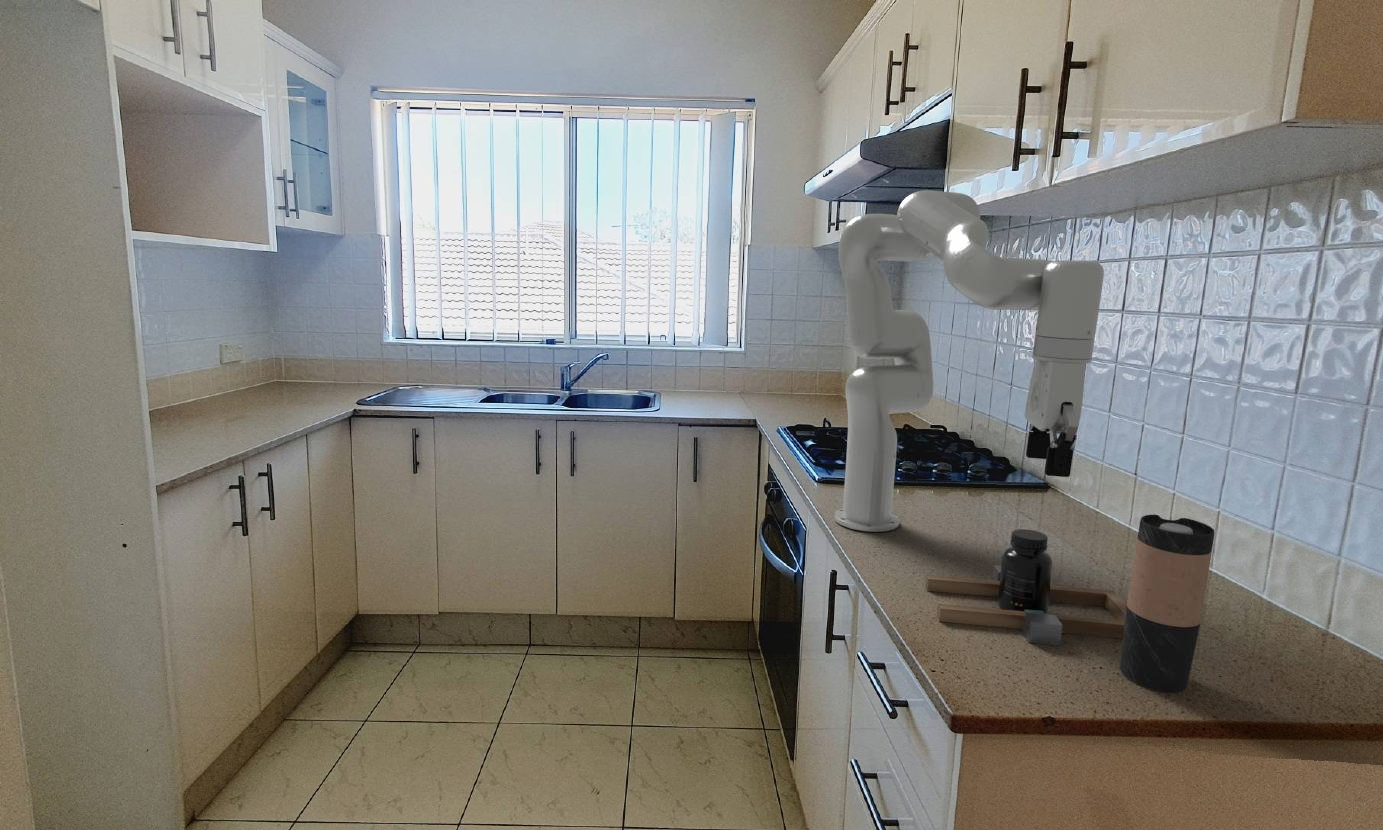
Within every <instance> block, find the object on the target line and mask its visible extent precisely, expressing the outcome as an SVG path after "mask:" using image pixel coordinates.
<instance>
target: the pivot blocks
mask: <svg viewBox="0 0 1383 830" xmlns="http://www.w3.org/2000/svg"><path fill="white" fill-rule="evenodd" d="M1000 572H1001V565H997V564H996V565H993V570H992V578H991V579H992V580H993V581H1000ZM1049 614H1050V613H1047V614H1038V613H1027V612H1024V620H1023V628H1022V629H1021V633H1022V634H1023V636H1024V638H1025V639H1026V641H1027V643H1029V644H1038V645H1049V646H1057V647H1058V646H1059V647H1060V646H1061V639H1062V634H1063V633H1062V624H1061V622H1060V621H1059V620H1058V618H1057V617H1056V616H1055V615H1049Z"/></svg>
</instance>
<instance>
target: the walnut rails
mask: <svg viewBox="0 0 1383 830" xmlns="http://www.w3.org/2000/svg"><path fill="white" fill-rule="evenodd" d="M925 581H926V582H925V588H926V591H927V592H938V593H950V594H961V595H972V596H973V595H974V596H982V597H996V598H998V593H999V583H1000V581H993V580H989V579H979V578H978V579H977V578H967V577H958V576H957V577H955V576H943V575H929V574H927V575H926V579H925ZM1049 602H1052V603H1065V604H1078V605H1086V606H1087V605H1088V606H1091V605H1092V606H1100V607H1101V606H1102V607H1105V609H1106V610H1107V611H1109V613H1110V614H1111V615H1112V616H1113V617H1114V619H1112V618H1102V617H1101V618H1100V617H1090V616H1078V615H1068V614H1067V615H1066V614H1055V613H1048V612H1047V613H1044V612H1043V611H1037V610H1026V609H1025V610H1024V611H1013V610H1002V609H1000V608H999V609H998V608H991V607H978V606H967V605H966V606H965V605H957V604H946V603H938V604H937V616H936V617H937V620H938V622H940V623H941V622H943V623H950V624H965V625H973V626H975V625H976V626H986V627H996V628H997V627H998V628H1005V629H1016V630H1018V629H1019V630H1022V628H1023V620H1024V612H1027V613H1038V614H1049V615H1055V616H1056V617H1057V618H1058V620H1059V621H1060V622H1061V624H1062V633H1061V634H1073V635H1082V636H1091V637H1092V636H1094V637H1101V638H1102V637H1103V638H1105V637H1106V638H1113V639H1115V638H1116V639H1123V635H1124V626H1125V616H1126V607H1127V602H1126V603H1125V601H1124V600H1123V599H1122V598H1121V597H1120V596H1119V595H1118V594H1117V593H1116V592H1115V591H1114V590H1110V589H1098V588H1086V587H1075V586H1073V587H1072V586H1062V585H1052V584H1051V585H1050V594H1049Z"/></svg>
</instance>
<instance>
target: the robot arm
mask: <svg viewBox="0 0 1383 830" xmlns="http://www.w3.org/2000/svg"><path fill="white" fill-rule="evenodd" d="M989 234H990V232H989V228H988V225H987V224H986V222H985V221H984V220H982V219H981V210H980V207H979V205H978V204H977V202H976V201H975V200H974V199H973V197H971V196H969V195H968V194H965V193H961V192H950V191H940V190H928V189H926V190H918V191H915V192H913V193H911V194H909V195H908V196H906V197H905V198H904V199H903V200H902V201H901V202H900V205H899V207H898V209H897V214H888V213H867V214H861V215H859V216H855V217H853V218H852V219H851V220H850V221H848V222H847V224H846V225H845V227H844V229H843V231H842V233H841V235H840V238H839V242H838V250H837V251H838V252H837V253H838V262H839V267H840V271H841V275H842V278H843V282H844V287H845V293H846V309H847V310H846V311H847V323H848V334H849V344H850V348H851V350H852V352H853V353H854V355H855V356H856V357H858V358H862V359H870V360H871V359H872V360H873V359H874V360H875V359H876V360H877V359H893V360H894V361H893V362H894V364H880V365H879V364H877V365H866V366H862V367H859V368H857V369H855V370H854V371H852V373H850V375H849V376H848V378H847V380H846V383H845V388H844V391H845V401H846V409H847V439H846V440H847V441H846V442H847V443H846V455H845V456H846V460H845V475H844V486H843V487H844V489H843V502H842V503H843V504H842V508H840V509H838V510H836V511H835V512H834V521H835V522H837V523H838V525H841V526H843V527H846V528H847V529H851V530H857V531H861V532H870V533H873V532H874V533H879V532H883V533H884V532H888V531H889V532H890V531H893V530H895V529H896V528H898V527H899V525H900V519H899V517H898V516H897V515H895V514H894V513H892V511H893V501H894V500H893V499H894V498H893V497H894V485H895V474H896V461H897V447H898V435H897V434H898V433H897V431H896V429H895V426H894V424H893V422H892V420H891V417H890V415H892V414H893V415H894V414H903V413H904V414H905V413H915V412H920V411H923V410H924V409H925V408H927V407H928V405H929V404H930V402H931V400H932V398H933V394H934V375H933V374H934V371H933V359H932V347H931V335H930V330H929V327H928V325H927V323H926V320H925V319H924V318H923V316H922V315H921V314H919V313H918V312H915V311H914V310H907V309H894V306H893V302H892V288H891V283H889V279H888V277H887V275H886V274H885V272H884V270H883V269H882V268H881V267H880V265H879V264H878V262H880V261H890V262H891V261H892V262H909V263H911V262H919V261H924V260H926V259H927V260H928V259H929V258H932V257H937V258H938V259H939V260H940V261H942V262H943V263H942V265H943V271H944V274H945V276H946V280H947V281H948V283H949V284H950V286H952V287H953V289H955V290H956V291H958V292H959V293H960V294H962V295H963V296H964V297H965V298H966V299H968V300H970V302H973V303H974V304H976V305H979V307H982V308H985V309H989V310H995V311H1009V310H1010V311H1037V318H1036V324H1035V326H1036V327H1035V333H1034V334H1035V335H1034V340H1033V341H1034V342H1033V349H1032V354H1031V355H1032V356H1031V358H1032V359H1034V364H1033V368H1032V372H1031V378H1030V382H1029V387H1028V394H1027V399H1026V405H1025V410H1024V411H1025V412H1024V418H1025V420H1026V421H1027V422H1028V423H1030V424H1029V427H1028V428H1029V429H1028V430H1029V431H1028V437H1027V443H1026V453H1025V456H1026V457H1027V458H1028V459H1037V460H1038V459H1039V460H1045V465H1044V474H1045V475H1046V476H1048V477H1049V476H1050V477H1059V478H1060V477H1062V478H1069V477H1070V476H1071V471H1072V464H1073V456H1074V451H1075V448H1076V443H1075V442H1076V440H1077V437H1078V436H1077V435H1076V434H1077V432H1078V429H1079V426H1080V421H1081V415H1082V408H1083V403H1084V402H1083V399H1084V391H1085V379H1086V378H1085V376H1086V364H1090V363H1092V358H1093V354H1094V353H1093V352H1094V345H1095V338H1096V332H1097V325H1098V319H1099V311H1100V304H1101V300H1102V299H1101V297H1102V291H1103V285H1104V275H1105V269H1104V267H1103V265H1102V264H1101V263H1099V262H1097V261H1089V260H1049V259H1039V258H1026V257H1025V258H1023V257H1002V256H998V255H996V254H994V253H992V252H990V251H989V250H987V249H986V248H987V245H988V241H989V237H990V235H989Z"/></svg>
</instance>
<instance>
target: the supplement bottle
mask: <svg viewBox="0 0 1383 830" xmlns="http://www.w3.org/2000/svg"><path fill="white" fill-rule="evenodd" d="M1010 538H1011V539H1010V542H1009V544H1010V546H1008V547H1007V548H1005V549H1004V551H1003V552H1002V556H1001V564H1000V566H1001V572H1000V583H999V593H998V597H997V606H998V608H999V609H1002V610H1013V611H1024V610H1025V609H1026V610H1037V611H1043V612H1044V613H1047V614H1048V609H1049V602H1050V601H1049V594H1050V585H1052V584H1051V583H1052V573H1053V566H1054V562H1053V558H1052V557H1051V555H1050V554H1049V553H1048V552H1047V550H1048V540H1049V539H1048V536H1047V535H1046V534H1045V533H1043V532H1041V531H1037V530H1033V529H1027V528H1026V529H1025V528H1020V529H1019V528H1018V529H1014V530H1013V531H1011V536H1010Z"/></svg>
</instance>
